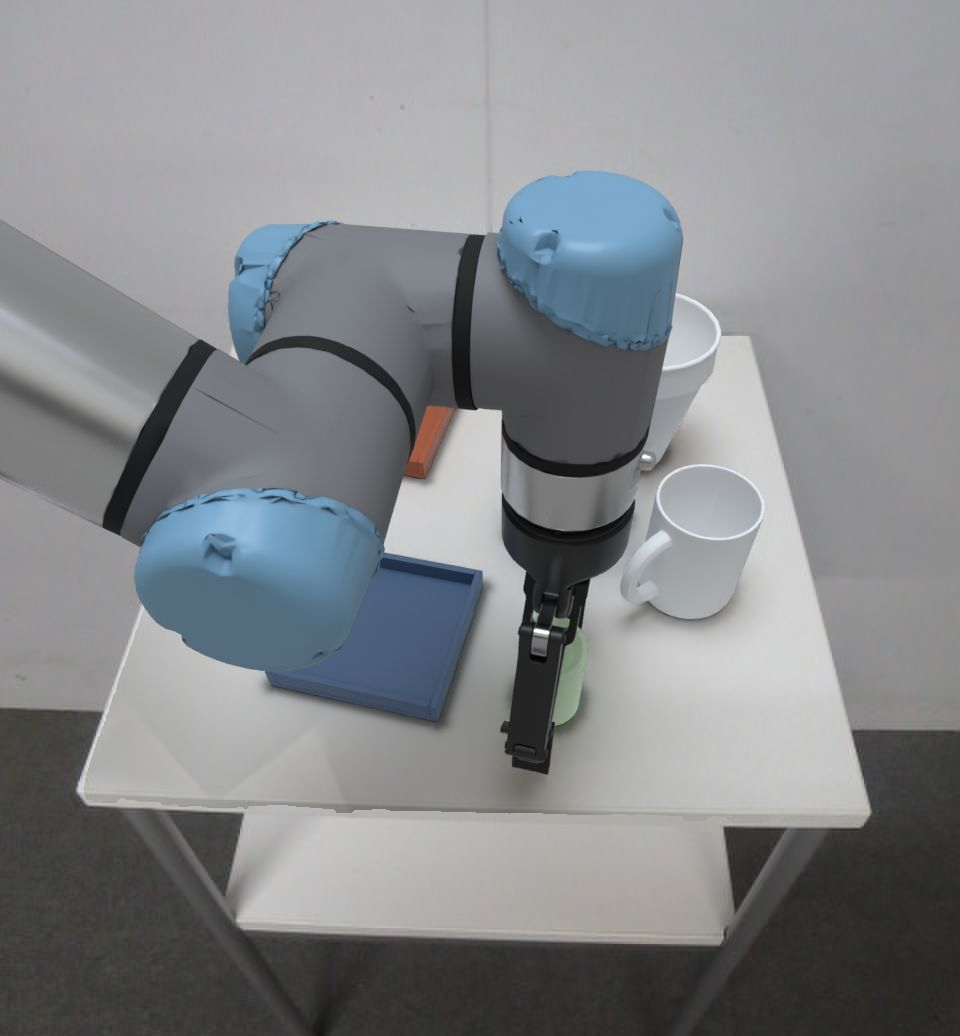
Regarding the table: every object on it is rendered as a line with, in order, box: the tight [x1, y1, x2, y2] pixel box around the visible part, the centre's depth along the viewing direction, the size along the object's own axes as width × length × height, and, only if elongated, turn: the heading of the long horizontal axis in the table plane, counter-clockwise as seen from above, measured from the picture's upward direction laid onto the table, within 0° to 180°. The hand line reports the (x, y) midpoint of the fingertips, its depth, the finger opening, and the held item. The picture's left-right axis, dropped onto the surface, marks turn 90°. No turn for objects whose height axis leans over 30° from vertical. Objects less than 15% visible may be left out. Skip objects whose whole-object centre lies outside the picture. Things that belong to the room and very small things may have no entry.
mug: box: [619, 463, 766, 620], centre depth 63 cm, size 12×8×10 cm
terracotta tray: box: [404, 406, 456, 479], centre depth 81 cm, size 14×14×2 cm
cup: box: [641, 292, 723, 472], centre depth 73 cm, size 12×12×14 cm
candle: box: [517, 614, 589, 727], centre depth 58 cm, size 5×5×8 cm
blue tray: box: [264, 551, 484, 723], centre depth 65 cm, size 14×14×2 cm
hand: (549, 690), depth 61 cm, fingers open, 13 cm apart
